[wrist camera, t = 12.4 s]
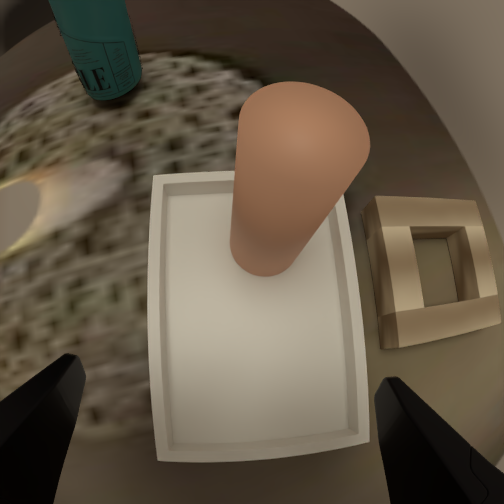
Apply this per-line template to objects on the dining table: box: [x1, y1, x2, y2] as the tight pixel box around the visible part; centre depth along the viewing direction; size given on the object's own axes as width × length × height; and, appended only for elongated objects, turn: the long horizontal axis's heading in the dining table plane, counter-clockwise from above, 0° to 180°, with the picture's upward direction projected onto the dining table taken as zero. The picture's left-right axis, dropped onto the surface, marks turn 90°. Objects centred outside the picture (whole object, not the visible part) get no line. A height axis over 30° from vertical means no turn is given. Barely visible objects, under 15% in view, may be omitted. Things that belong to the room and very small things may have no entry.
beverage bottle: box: [49, 0, 143, 100], centre depth 19 cm, size 6×7×20 cm
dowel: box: [230, 82, 370, 277], centre depth 17 cm, size 5×5×13 cm
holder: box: [361, 196, 501, 349], centre depth 23 cm, size 11×11×3 cm
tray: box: [148, 171, 369, 462], centre depth 21 cm, size 20×14×2 cm
